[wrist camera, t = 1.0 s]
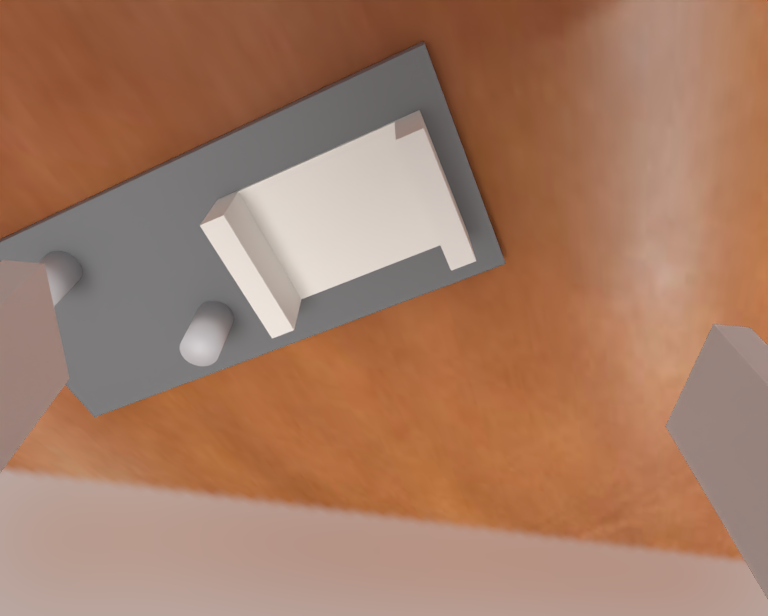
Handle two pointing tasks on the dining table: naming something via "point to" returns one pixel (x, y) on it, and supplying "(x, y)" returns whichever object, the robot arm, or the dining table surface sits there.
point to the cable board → (264, 236)
